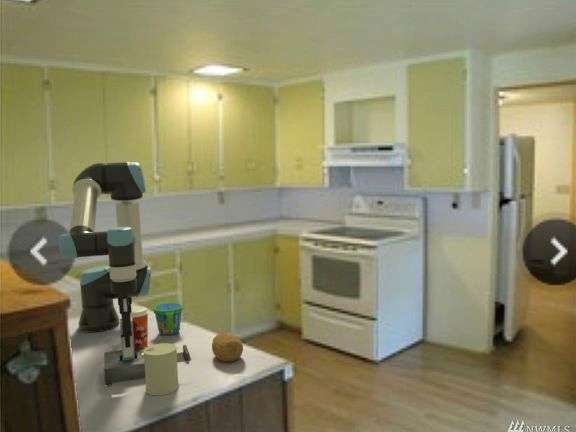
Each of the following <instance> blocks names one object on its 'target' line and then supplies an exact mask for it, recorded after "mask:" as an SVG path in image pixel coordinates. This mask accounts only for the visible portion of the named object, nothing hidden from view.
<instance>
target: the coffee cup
mask: <svg viewBox="0 0 576 432" xmlns="http://www.w3.org/2000/svg"><path fill="white" fill-rule="evenodd" d="M131 310H132V312H131V313H130V317H132V320H133V335H134V348H140V347H147V346H148V344H149V342H148V336H149V335H148V329H149V328H148V325H149V324H148V323H149V321H148V318H149V317H148V314H149V310H148V308H147V307H145V306H131Z"/></svg>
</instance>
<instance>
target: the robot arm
mask: <svg viewBox="0 0 576 432" xmlns="http://www.w3.org/2000/svg"><path fill="white" fill-rule="evenodd" d="M146 192H147V187H146V181H145V176H144V172H143V167H142V165H141V163H139V162H132V161H131V162H130V161H122V162H121V161H119V162H97V163H93V164H91V165H89V166H87V167H86V168H84V169H83V170H81V172H79V174H78V175H77V176H76V177H75V179H74V182H73V184H72V194H73V195H74V197H73V203H72V204H73V205H72V209H71V216H70V222H69V223H70V224H69V229H68V232H66V233H62V234H61V235H60V236H59V238H58V244H59V245H58V247H59V248H58V249H59V253H60V255H61V257H62V258H67V259H68V258H74V259H77V258H86V257H87V258H88V257H98V256H108V262H109V263H108V265H99V266H96V267H91V268H88V269H86V270H84V271H82V272H81V273H80V274H79V275H80V276H79V281H80V282H79V286H80V296H81V306H82V307H81V313H80V315H79V316H80V317H79V320H78V330H79V331H80V332H84V333H85V332H86V333H98V332H99V333H100V332H104V331H109V330H112V329H114V328H117V327H118V326H120V316H119V314H120V315H121V319H122V329H123V334H122V335H121V334H120V335H119V336H120V337H119V338H120V339H121V337H123V352H124V358H127V357H133V344H132V333H131V319H130V313H131V312H132V310H131V307H132V303H133V299H132V298H139V297H146V296H147V295H149V293H150V289H151V281H152V279H151V278H152V277H151V276H152V275H151V274H152V266H149V265H148V263H147V261H146V260H144V259H143V257H144V255H143V244H142V243H143V242H142V229H141V215H140V213H141V211H140V201H141V200H142V199H143V196H144V195H143V194H145V193H146ZM101 195H110V200H111V201H112V202H114V204H115V214H116V215H115V216H116V225H117V226H116V227H110V228H109V229H107V230H106V231H105V230H104V231H103V230H102V231H95V230H96V221H97V220H96V218H97V209H98V208H97V207H98V206H97V205H98V199H99V197H100V196H101ZM116 299H117V306H118V308H119V309H118V310H119V314H118V312H117V311H116V307H115V303H114V300H116Z"/></svg>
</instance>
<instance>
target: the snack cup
mask: <svg viewBox="0 0 576 432" xmlns="http://www.w3.org/2000/svg"><path fill="white" fill-rule="evenodd" d="M183 309H184V308H183V304H182V303H178V302H166V303H165V302H164V303H160V304H157V305H156V306H154V307H153V312H154V314H155V320H156V321H155V322H156V324H157V329H158V330H157V331H158V332H159V334H160V335H161V336H165V337H166V336H174V335H176V334H178V333H180V330H181V322H182V321H181V320H182V312H183Z"/></svg>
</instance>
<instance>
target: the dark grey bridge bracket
mask: <svg viewBox="0 0 576 432" xmlns="http://www.w3.org/2000/svg"><path fill="white" fill-rule="evenodd" d="M188 361H189V362H190V361H192V358H191V355H190V352H189V349H188V346H187V344H183V345H182V352H177V363H183V362H188Z"/></svg>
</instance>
